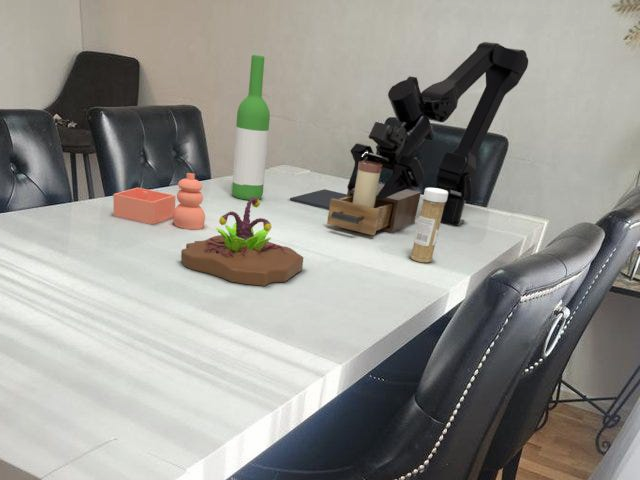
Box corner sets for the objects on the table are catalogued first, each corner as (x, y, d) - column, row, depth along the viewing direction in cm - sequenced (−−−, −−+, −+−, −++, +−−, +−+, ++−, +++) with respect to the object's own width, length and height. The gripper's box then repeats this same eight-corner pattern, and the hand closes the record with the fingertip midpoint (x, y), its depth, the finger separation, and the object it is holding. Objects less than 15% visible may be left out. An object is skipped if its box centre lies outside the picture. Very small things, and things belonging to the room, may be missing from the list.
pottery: (113, 215, 133) (112, 163, 127) (137, 208, 141) (137, 158, 135) (192, 233, 129) (194, 180, 123) (212, 224, 137) (215, 173, 131)
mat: (324, 191, 181) (324, 189, 180) (390, 206, 174) (390, 204, 173) (289, 200, 166) (290, 197, 165) (360, 217, 159) (361, 214, 158)
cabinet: (391, 233, 149) (398, 200, 145) (342, 220, 153) (347, 188, 149) (414, 222, 161) (421, 192, 157) (368, 211, 165) (373, 181, 161)
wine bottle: (261, 202, 159) (275, 58, 143) (230, 198, 159) (239, 53, 142) (262, 196, 166) (275, 57, 149) (232, 192, 165) (242, 52, 149)
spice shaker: (354, 216, 149) (364, 159, 143) (375, 221, 147) (386, 164, 141) (345, 219, 145) (354, 161, 139) (366, 225, 144) (377, 166, 137)
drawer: (365, 238, 138) (370, 212, 135) (318, 226, 142) (322, 201, 139) (396, 225, 152) (401, 201, 149) (352, 214, 156) (356, 191, 153)
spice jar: (436, 262, 132) (453, 192, 124) (420, 263, 130) (437, 192, 122) (420, 255, 135) (437, 186, 127) (404, 257, 133) (420, 186, 125)
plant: (319, 269, 119) (328, 204, 112) (260, 292, 104) (267, 219, 98) (231, 243, 126) (235, 181, 120) (164, 261, 112) (165, 192, 106)
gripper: (364, 102, 142) (319, 157, 142) (429, 115, 131) (380, 175, 131) (381, 142, 151) (339, 194, 151) (443, 158, 140) (398, 214, 140)
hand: (362, 193), depth 143 cm, fingers open, 9 cm apart
